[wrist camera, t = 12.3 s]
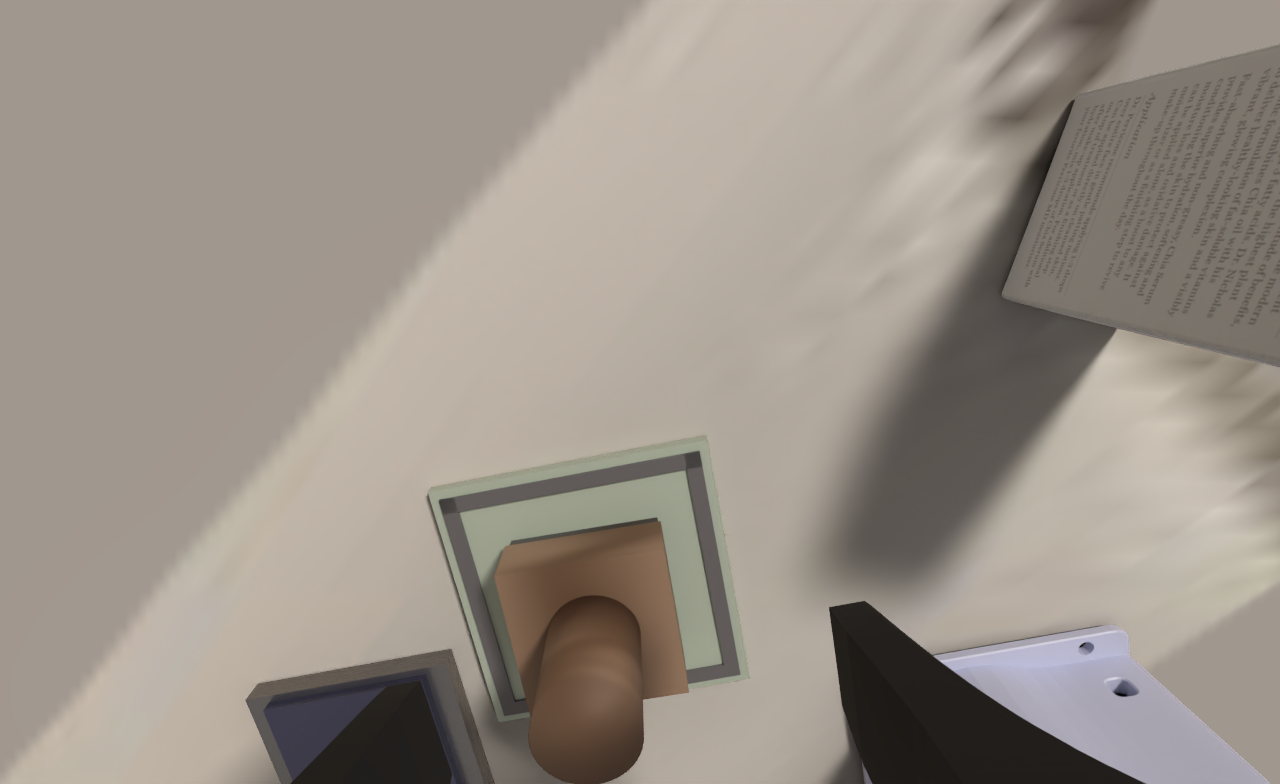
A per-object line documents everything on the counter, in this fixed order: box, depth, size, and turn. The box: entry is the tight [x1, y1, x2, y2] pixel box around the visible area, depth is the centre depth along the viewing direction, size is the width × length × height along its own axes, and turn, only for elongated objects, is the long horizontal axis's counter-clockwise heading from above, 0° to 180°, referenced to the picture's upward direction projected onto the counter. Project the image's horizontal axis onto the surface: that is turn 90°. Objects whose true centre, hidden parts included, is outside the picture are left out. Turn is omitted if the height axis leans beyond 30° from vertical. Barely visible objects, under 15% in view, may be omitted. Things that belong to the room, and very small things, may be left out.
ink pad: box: [246, 649, 494, 784], centre depth 24 cm, size 7×7×1 cm
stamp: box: [494, 517, 689, 784], centre depth 19 cm, size 5×5×6 cm
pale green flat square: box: [428, 436, 750, 722], centre depth 22 cm, size 9×9×1 cm
